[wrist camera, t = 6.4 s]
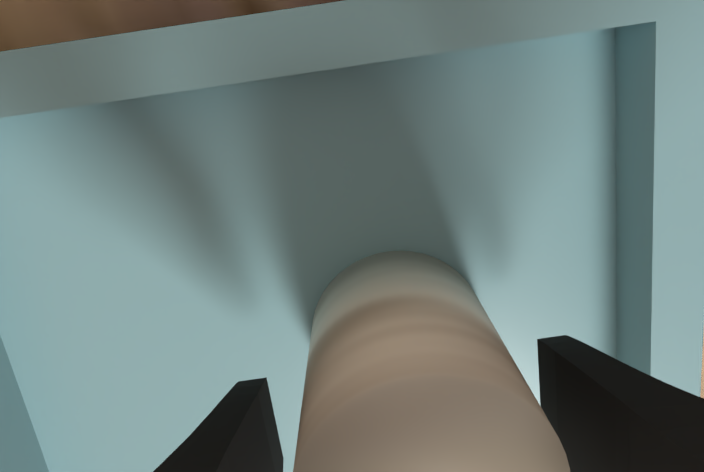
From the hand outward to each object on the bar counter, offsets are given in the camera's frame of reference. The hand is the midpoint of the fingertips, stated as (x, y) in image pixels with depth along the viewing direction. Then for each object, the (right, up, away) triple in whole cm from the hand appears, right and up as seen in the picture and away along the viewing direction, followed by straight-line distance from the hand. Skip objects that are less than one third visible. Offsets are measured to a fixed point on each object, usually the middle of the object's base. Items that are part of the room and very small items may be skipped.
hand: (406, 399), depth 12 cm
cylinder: (0, +1, +3) cm, 3 cm away
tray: (-2, +1, +4) cm, 4 cm away
